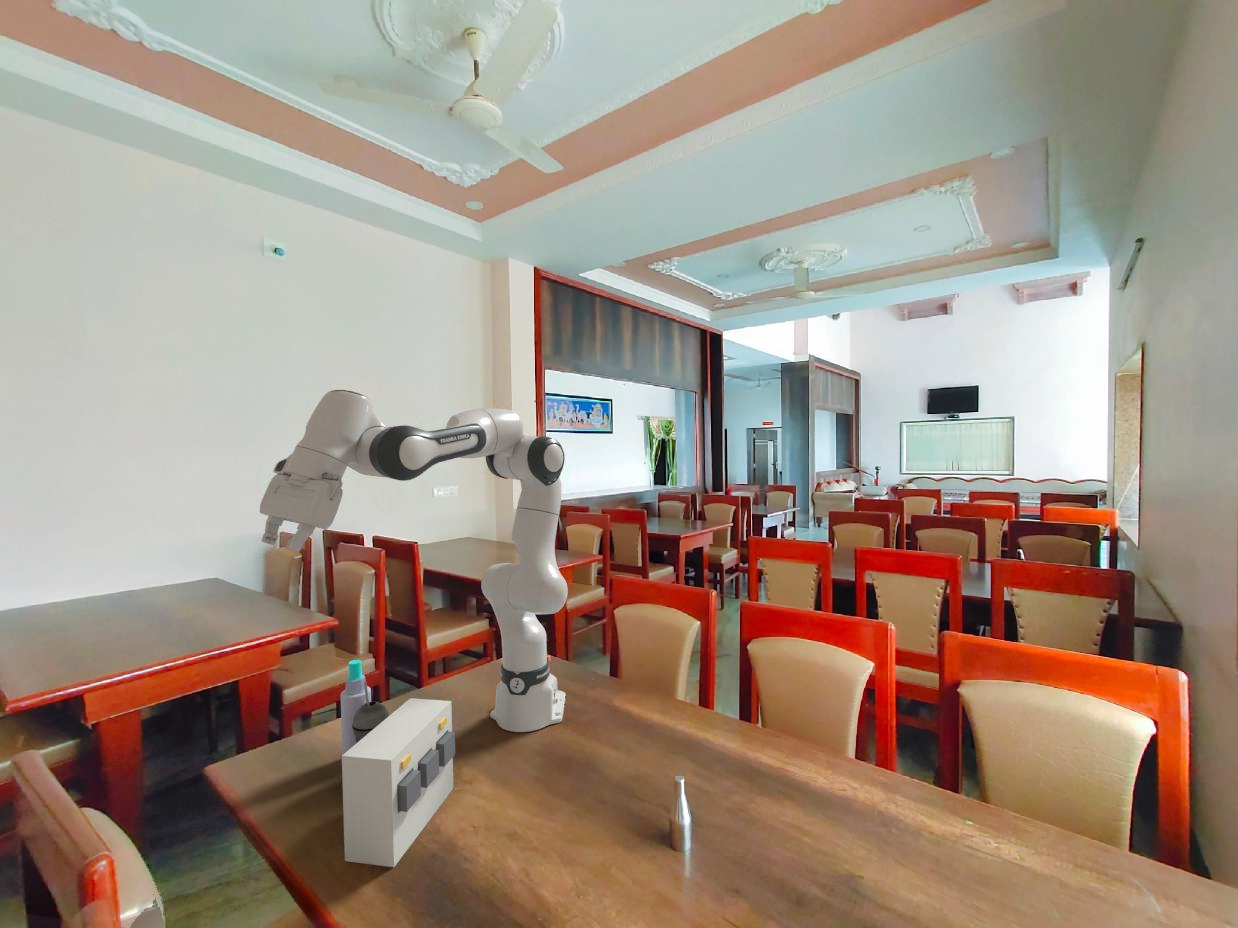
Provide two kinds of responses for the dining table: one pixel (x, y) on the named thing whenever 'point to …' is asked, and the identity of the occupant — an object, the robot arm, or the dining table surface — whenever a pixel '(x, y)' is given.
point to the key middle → (429, 767)
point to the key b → (446, 748)
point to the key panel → (392, 782)
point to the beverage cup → (368, 717)
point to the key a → (409, 790)
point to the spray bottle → (352, 702)
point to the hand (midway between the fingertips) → (279, 546)
